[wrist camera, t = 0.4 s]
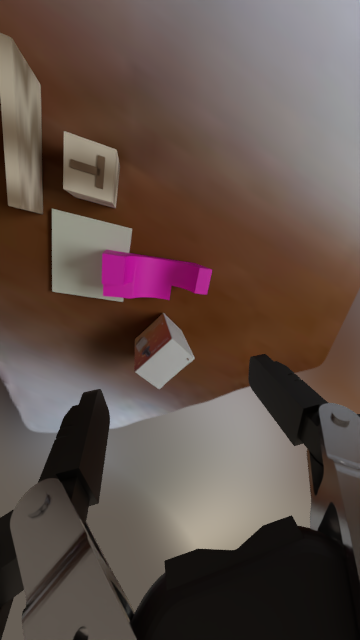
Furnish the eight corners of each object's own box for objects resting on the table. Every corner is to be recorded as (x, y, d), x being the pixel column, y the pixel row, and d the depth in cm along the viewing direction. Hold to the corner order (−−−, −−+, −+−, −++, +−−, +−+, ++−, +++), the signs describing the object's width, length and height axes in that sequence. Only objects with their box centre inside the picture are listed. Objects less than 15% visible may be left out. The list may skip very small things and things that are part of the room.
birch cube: (77, 151, 26) (63, 130, 21) (119, 165, 28) (116, 149, 22) (75, 197, 28) (62, 188, 23) (115, 208, 29) (111, 202, 24)
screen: (10, 73, 22) (-30, 19, 17) (40, 85, 23) (11, 37, 18) (18, 208, 27) (-12, 200, 21) (42, 214, 28) (20, 208, 22)
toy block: (104, 288, 32) (101, 302, 26) (106, 249, 30) (102, 253, 24) (188, 296, 37) (203, 309, 31) (194, 263, 35) (212, 269, 28)
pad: (53, 209, 28) (51, 208, 27) (132, 229, 31) (132, 228, 30) (54, 290, 32) (52, 291, 31) (123, 300, 35) (122, 301, 34)
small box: (163, 311, 37) (172, 337, 28) (181, 329, 40) (196, 358, 30) (133, 339, 38) (133, 372, 29) (153, 355, 41) (159, 390, 31)
